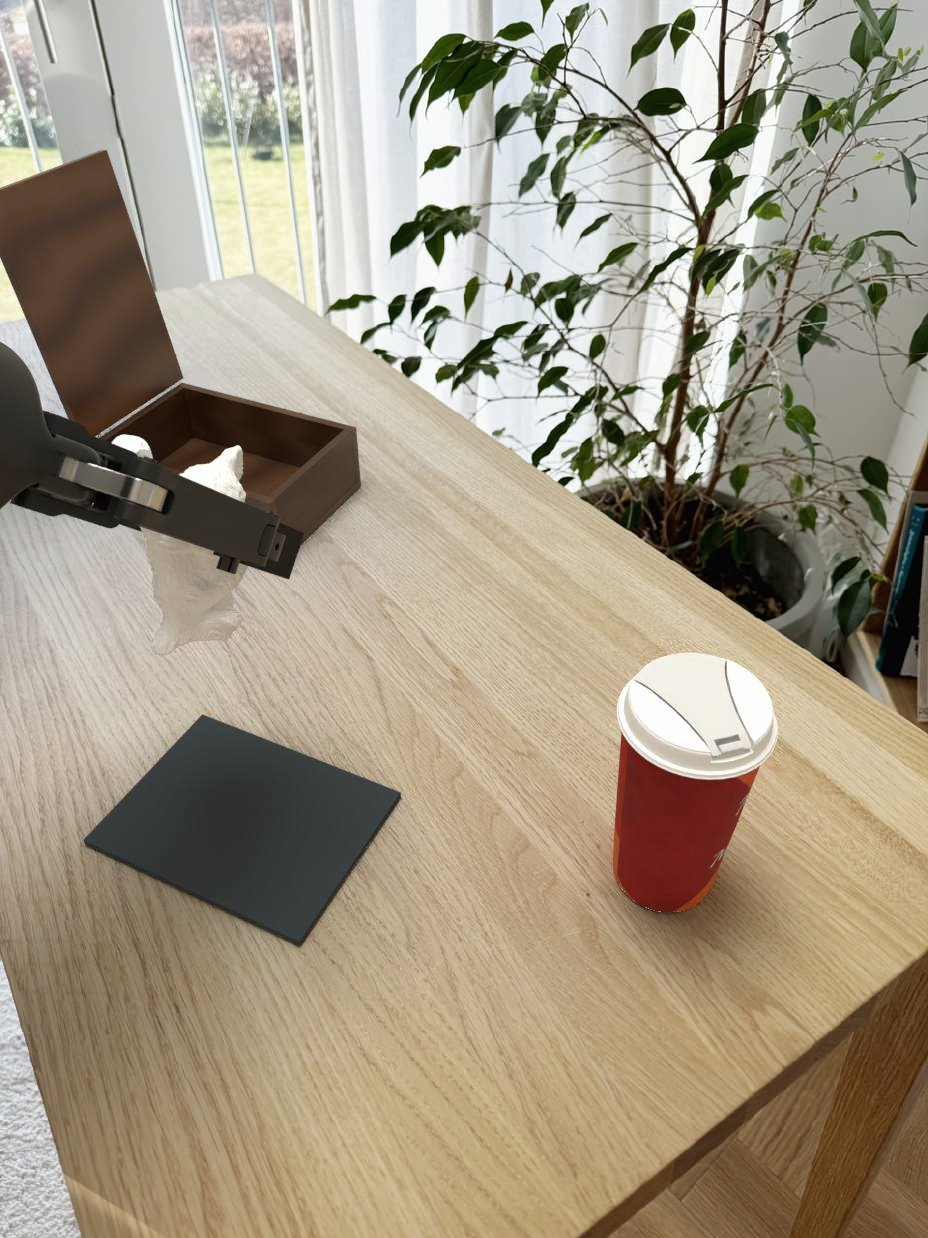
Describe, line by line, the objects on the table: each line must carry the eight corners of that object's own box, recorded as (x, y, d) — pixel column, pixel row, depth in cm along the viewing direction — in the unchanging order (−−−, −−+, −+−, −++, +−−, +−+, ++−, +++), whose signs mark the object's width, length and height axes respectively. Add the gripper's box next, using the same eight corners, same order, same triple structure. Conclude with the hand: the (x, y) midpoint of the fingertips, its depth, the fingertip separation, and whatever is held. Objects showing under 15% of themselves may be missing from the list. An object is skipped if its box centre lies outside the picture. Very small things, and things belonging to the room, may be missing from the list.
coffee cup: (755, 911, 57) (816, 739, 47) (626, 947, 55) (661, 776, 46) (691, 802, 63) (732, 630, 53) (573, 832, 61) (593, 659, 52)
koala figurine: (151, 684, 51) (93, 488, 43) (110, 618, 55) (50, 429, 48) (296, 625, 55) (266, 434, 47) (246, 568, 59) (211, 385, 51)
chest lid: (107, 149, 81) (100, 149, 82) (-19, 196, 72) (-26, 197, 72) (184, 378, 93) (177, 377, 94) (84, 443, 84) (78, 443, 85)
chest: (361, 486, 92) (356, 427, 87) (279, 565, 82) (269, 503, 78) (193, 439, 98) (181, 382, 94) (100, 508, 89) (82, 448, 85)
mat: (84, 845, 61) (82, 840, 60) (203, 718, 69) (202, 713, 69) (300, 946, 55) (299, 942, 55) (401, 797, 64) (401, 792, 63)
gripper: (-339, 441, 36) (79, 554, 58) (64, 585, 30) (365, 651, 52) (-274, 252, 36) (119, 435, 58) (141, 354, 30) (409, 517, 52)
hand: (234, 536), depth 55 cm, fingers closed on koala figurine, 7 cm apart
